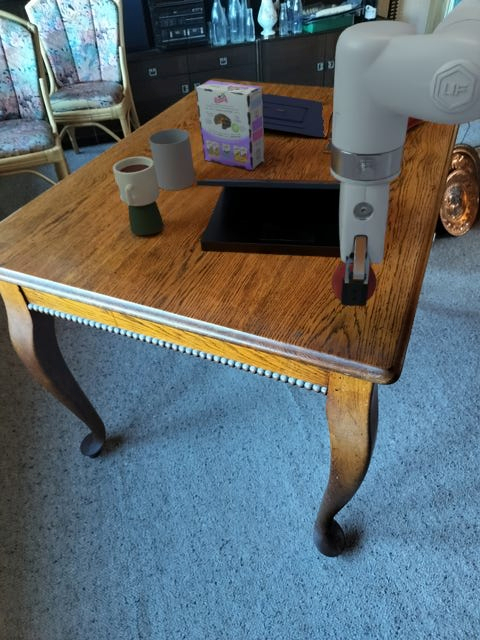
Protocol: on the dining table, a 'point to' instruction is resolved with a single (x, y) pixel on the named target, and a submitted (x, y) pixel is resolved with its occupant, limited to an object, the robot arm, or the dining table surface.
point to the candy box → (231, 123)
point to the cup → (172, 159)
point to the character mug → (139, 193)
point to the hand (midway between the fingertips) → (353, 287)
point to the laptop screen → (271, 183)
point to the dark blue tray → (293, 115)
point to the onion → (340, 274)
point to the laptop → (275, 222)
